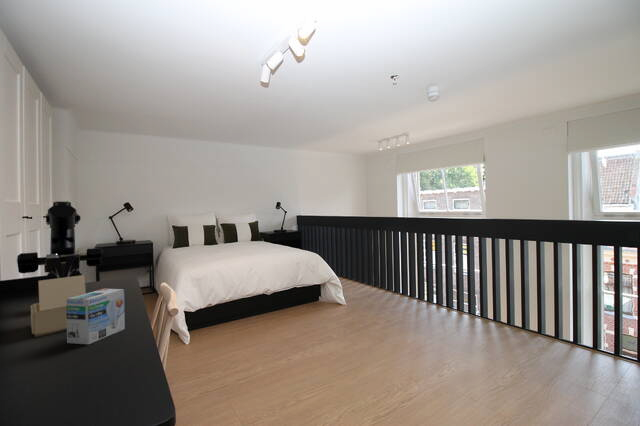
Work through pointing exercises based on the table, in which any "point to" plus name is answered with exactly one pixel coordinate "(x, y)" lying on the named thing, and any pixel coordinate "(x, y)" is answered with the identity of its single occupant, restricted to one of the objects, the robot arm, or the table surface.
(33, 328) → the carton
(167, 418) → the table surface
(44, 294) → the far flap
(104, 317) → the light bulb box
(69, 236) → the robot arm
